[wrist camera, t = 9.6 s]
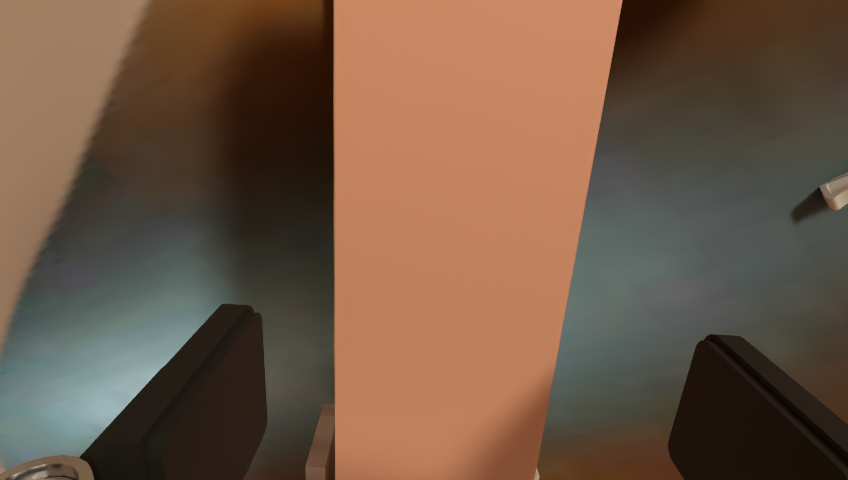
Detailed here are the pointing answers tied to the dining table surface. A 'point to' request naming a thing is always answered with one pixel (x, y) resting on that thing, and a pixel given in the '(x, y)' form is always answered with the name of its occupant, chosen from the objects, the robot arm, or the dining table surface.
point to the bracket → (836, 192)
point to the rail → (457, 225)
